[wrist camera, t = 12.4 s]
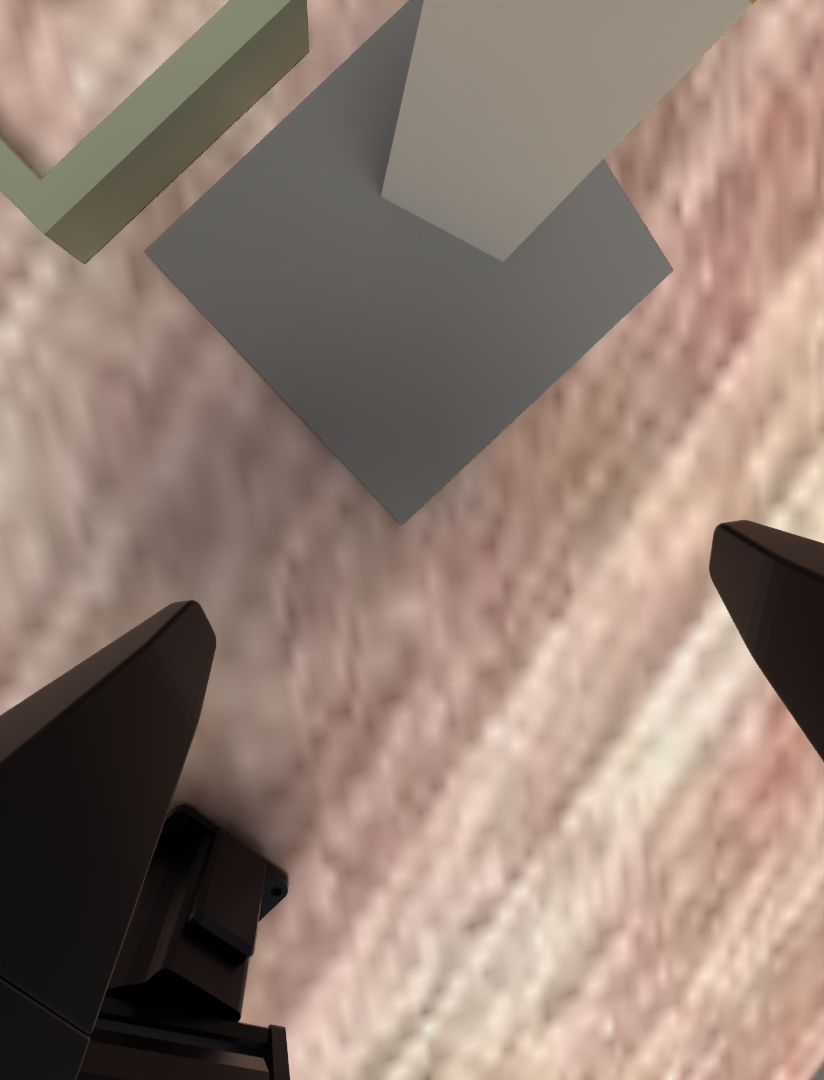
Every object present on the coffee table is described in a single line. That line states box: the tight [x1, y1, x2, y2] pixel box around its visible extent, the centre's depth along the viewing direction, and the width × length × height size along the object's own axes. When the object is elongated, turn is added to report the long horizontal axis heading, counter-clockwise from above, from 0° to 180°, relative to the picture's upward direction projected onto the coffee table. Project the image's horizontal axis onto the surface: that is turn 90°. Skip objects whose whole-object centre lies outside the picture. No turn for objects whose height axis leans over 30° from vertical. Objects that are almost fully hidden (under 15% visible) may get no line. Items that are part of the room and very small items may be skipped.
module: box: [381, 0, 756, 262], centre depth 12 cm, size 4×5×12 cm
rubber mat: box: [144, 0, 673, 525], centre depth 19 cm, size 15×13×1 cm
